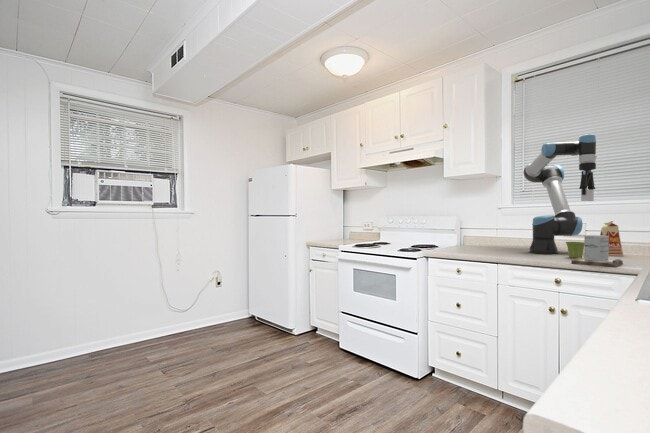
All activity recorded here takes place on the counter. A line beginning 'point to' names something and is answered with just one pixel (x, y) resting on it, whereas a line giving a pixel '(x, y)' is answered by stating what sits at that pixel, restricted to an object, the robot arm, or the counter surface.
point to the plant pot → (575, 249)
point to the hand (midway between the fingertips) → (587, 201)
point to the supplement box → (596, 247)
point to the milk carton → (612, 239)
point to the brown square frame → (604, 263)
